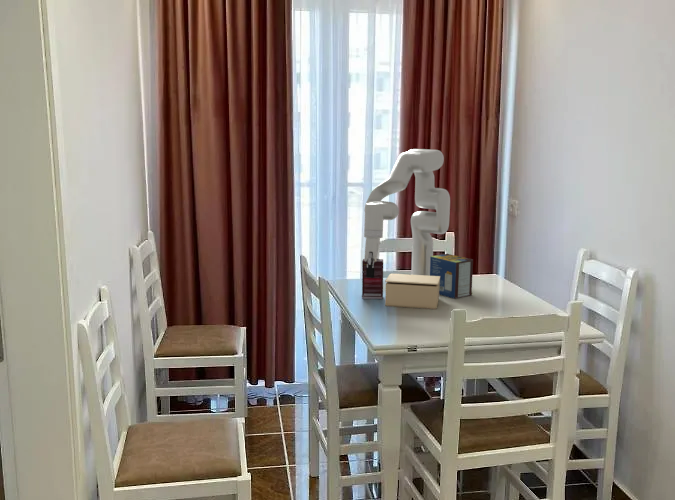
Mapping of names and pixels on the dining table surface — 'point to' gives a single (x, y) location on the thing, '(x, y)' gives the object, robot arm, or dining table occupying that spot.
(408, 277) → the flap
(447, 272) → the protein box
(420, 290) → the carton
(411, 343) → the dining table surface
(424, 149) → the robot arm
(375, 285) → the supplement box
